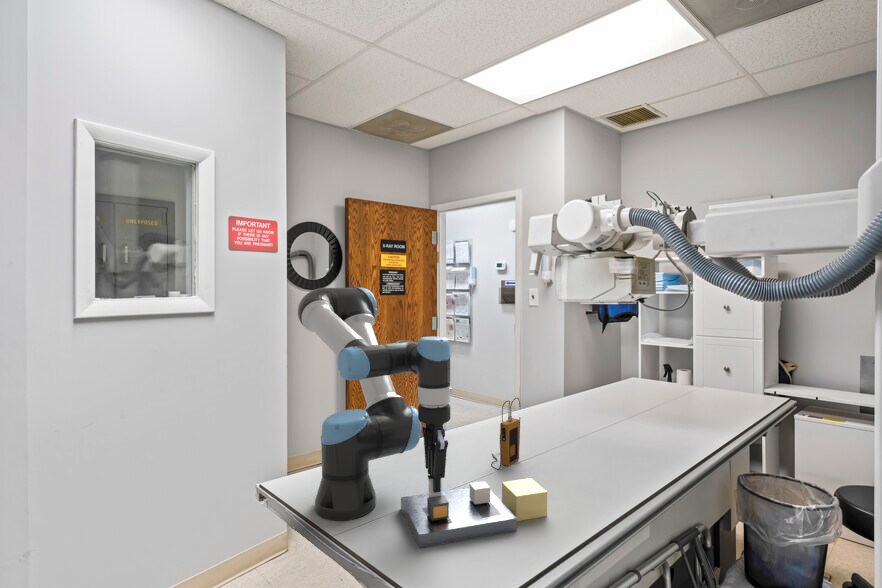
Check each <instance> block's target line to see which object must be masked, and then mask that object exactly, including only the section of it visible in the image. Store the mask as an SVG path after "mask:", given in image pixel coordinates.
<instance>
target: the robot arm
mask: <svg viewBox="0 0 882 588" xmlns="http://www.w3.org/2000/svg"><path fill="white" fill-rule="evenodd" d="M377 307H378V304H377V300H376V297H375V296H374V294H373V292H372V291H371V290H370V289H368V288H365V287H358V286H352V287H319V288H316V289H313V290H311V291H309V292H308V293H306V294H305V295H304V296H303V297H302V298H301V300H300V302H299V304H298V308H297V317H298V320H299V322H300V324H301V325H302V326H303V327H304V329H306V330H308V331H309V332H311V333H314V334H316V335H317V337H318V338H320V340H321V341H322V342H324V344H325V345H326V346H327V347H328V348H329V349H330V350H331V351H332V352H333V354H335V356H337V369H338V371H339V374H340V377H341V378H342V379H343V380H346V381H355V380H356V381H359V383H360V386H361V391H362V394H363V396H364V399H365V403H366V407H365V408H364V409H358V408H354V409H344V410H340V411H337V412H335V413H333V414H331V415H329V416H328V417H326V419H324V421H323V422H322V425H321V436H320V441H321V480H320V483H319V487H318V490H317V494H316V495H315V499H314V509H315V512H316V514H317V515H318V516H319V517H321V518H323V519H326V520H327V519H328V520H332V521H348V520H353V519H357V518H361V517H363V516H365V515H367V514H369V513H371V512H372V511H373V510H374V509H375V507H376V504H377V500H376V499H377V496H376V495H377V494H376V491H375V488H374V485H373V482H372V480H371V479H372V478H371V476H370V472H369V468H370V467H369V465H370V464H369V462H370V461H373V460H377V459H378V460H379V459H381V458H385V457H389V456H393V455H397V454H398V455H401V454H403V453H405V452H407V451H411V450H413V449H414V448H416V447H417V446H418V444H419V442H420V440H421V435H423V445H424V446H423V447H424V461H425V469H426V470H427V480H428V493H429V497H435V496H442V493H441V491H442V479H444V478H445V476H446V464H447V462H446V461H447V450H448V446H449V440H447V439H446V440H445V437H446V430H445V429H444V424H445V423H448V422H449V421H450V420H451V419H452V418H451V404H450V402H451V393H452V392H453V388H452V387H451V357H452V354H451V349H450V341H449V339H448V338H447V337H446V336H445V337H444V336H437V335H436V336H435V335H433V336H422V337H419V339H418V340H417V342H416V341H412V340H409V339H407V340H403V339H402V340H398V341H396V342H394V343H392V342H391V343H383V344H382V343H381V344H379V342H378V340H377V336H376V334H375V331H374V329H373V326H374V325H375V322H376V319H377V316H378V308H377ZM406 373H408V374H409V373H410V374H411V373H412V374H415V375H417V383H418V384H417V402H418V403H419V404H418V406H417V408H416V407H415V406H413V405H407V403H406V400H405V398H404V397H403V396H402V395H399V394H397V392H396V389H395V387H394V384H393V381H392V379H391V376H392V375H399V374H400V375H401V374H406ZM422 423H423V424H425V425H423V426H422Z"/></svg>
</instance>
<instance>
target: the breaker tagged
mask: <svg viewBox="0 0 882 588" xmlns="http://www.w3.org/2000/svg"><path fill="white" fill-rule="evenodd" d="M427 513H428V515H429V517H430V518H431V520H439V519H445V518H449V502H448V501H447V499H446V498H445V496H444V495H442V496H435V497H429V498H427Z"/></svg>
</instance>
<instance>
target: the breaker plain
mask: <svg viewBox="0 0 882 588" xmlns="http://www.w3.org/2000/svg"><path fill="white" fill-rule="evenodd" d="M469 487H470V499H471V500H472V501H473V503H474V504H480V503H487V502H490V490H491V487H490V486H489V484H487V482H486V481H485V480H483V481H478V482H476V481H475V482H470V483H469Z"/></svg>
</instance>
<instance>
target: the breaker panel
mask: <svg viewBox="0 0 882 588" xmlns="http://www.w3.org/2000/svg"><path fill="white" fill-rule="evenodd" d="M441 493H442V495H444V496H445V498H446V499H447V501H448V502H449V518H445V519H439V520H431V518H430V517H429V515H428V513H427V498H429V492H428V493H422V494H415V495H414V494H413V495H408V496H401V497H400V510H401V512H402V514H403V517H404V518H405V521H406V523H407V525H408V527H409V529H410V532H411V534H412V535H413V539H414V540H415V542H416V545H417V548H418V549H423V548H428V547H435V546H441V545H445V544H446V545H447V544H453V543H457V542H463V541H467V540H473V539H480V538H486V537H491V536H496V535H502V534H507V533H508V534H509V533H512V532H517V529H518V527H517V522H518V521H517V518H516V517H515V516H514V515H513V514H512V513H511V511H510V510H509V509H508V508H507V507H506V506H505V505H504V504H503V503H502V500H501V499H500V498H499V497H498V496H497V495H496V494H495V492H493V490H491V489H490V502H487V503H480V504H474V503H473V501H472V500H471V499H470V486H469V487H464V488H456V489H449V490H441Z"/></svg>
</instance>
